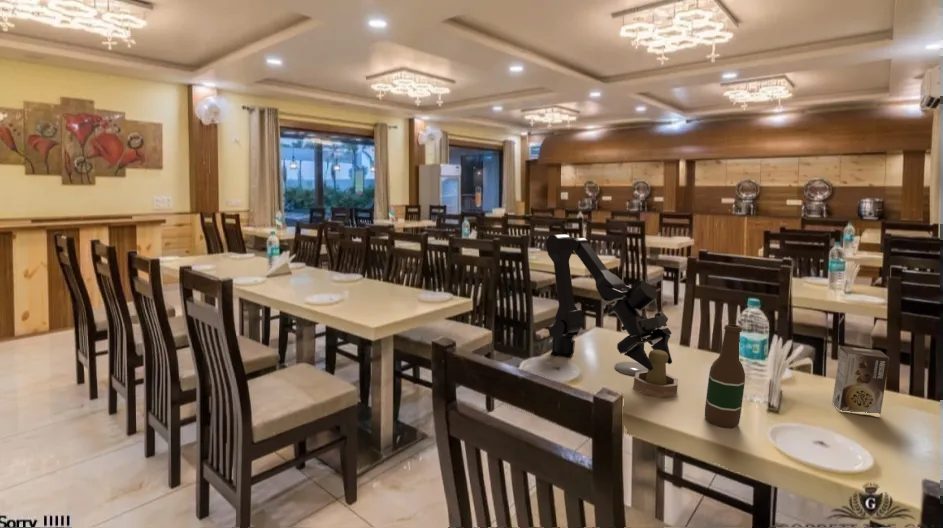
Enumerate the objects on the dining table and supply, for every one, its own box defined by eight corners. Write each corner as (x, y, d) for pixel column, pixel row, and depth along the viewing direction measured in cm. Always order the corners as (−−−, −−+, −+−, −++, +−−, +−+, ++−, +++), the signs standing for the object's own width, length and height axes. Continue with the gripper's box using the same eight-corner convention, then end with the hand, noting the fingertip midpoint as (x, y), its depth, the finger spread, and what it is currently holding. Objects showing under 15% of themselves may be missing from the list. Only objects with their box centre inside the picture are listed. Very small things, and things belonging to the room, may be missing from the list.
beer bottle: (737, 432, 122) (750, 332, 118) (701, 422, 126) (712, 326, 122) (740, 419, 128) (753, 325, 125) (706, 411, 132) (717, 319, 129)
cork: (669, 393, 143) (674, 355, 141) (647, 392, 143) (651, 354, 141) (662, 385, 149) (666, 347, 147) (641, 384, 149) (644, 346, 147)
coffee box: (870, 408, 139) (880, 350, 136) (880, 418, 133) (891, 357, 130) (830, 402, 141) (839, 345, 139) (838, 412, 135) (848, 352, 133)
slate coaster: (612, 372, 157) (612, 370, 157) (617, 361, 167) (617, 359, 167) (651, 378, 153) (651, 376, 153) (653, 367, 163) (653, 365, 163)
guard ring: (632, 392, 143) (633, 381, 142) (636, 378, 153) (636, 368, 153) (676, 400, 139) (677, 389, 138) (677, 385, 149) (678, 375, 148)
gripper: (629, 307, 140) (663, 358, 133) (668, 299, 151) (701, 346, 144) (603, 328, 147) (633, 378, 140) (642, 319, 158) (672, 365, 152)
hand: (661, 366), depth 144 cm, fingers open, 9 cm apart
